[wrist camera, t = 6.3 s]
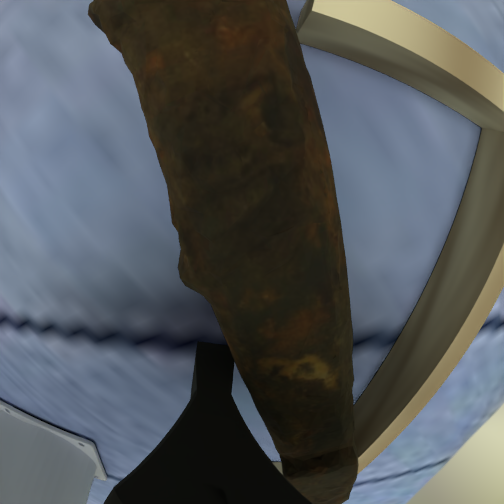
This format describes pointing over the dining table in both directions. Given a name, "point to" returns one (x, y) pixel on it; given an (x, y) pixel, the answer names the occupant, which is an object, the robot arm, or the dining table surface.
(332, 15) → the beige bent bracket
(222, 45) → the hand tool
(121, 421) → the dining table surface
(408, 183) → the dining table surface
